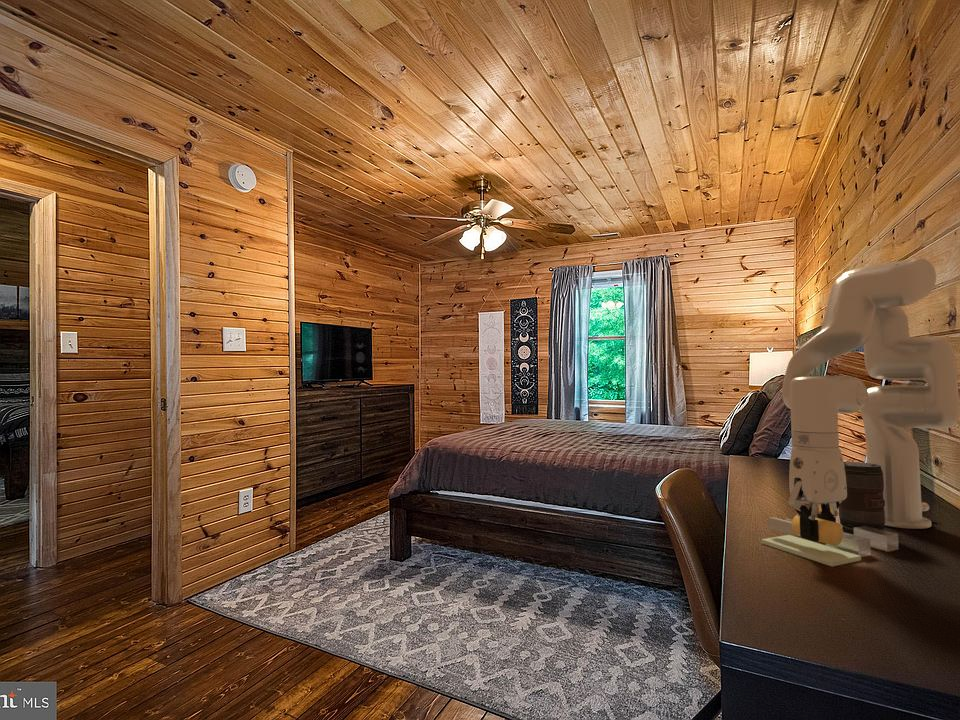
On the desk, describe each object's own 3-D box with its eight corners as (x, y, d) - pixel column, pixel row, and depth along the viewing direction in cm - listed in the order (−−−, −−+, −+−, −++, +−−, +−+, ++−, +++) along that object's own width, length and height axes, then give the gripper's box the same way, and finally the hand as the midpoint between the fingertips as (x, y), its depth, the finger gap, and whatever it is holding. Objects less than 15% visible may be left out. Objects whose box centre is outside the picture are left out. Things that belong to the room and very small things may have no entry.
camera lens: (879, 531, 109) (876, 462, 110) (891, 542, 102) (888, 467, 103) (835, 527, 113) (832, 460, 113) (843, 537, 105) (840, 465, 106)
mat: (789, 538, 105) (788, 534, 105) (861, 560, 92) (861, 555, 92) (761, 543, 102) (761, 539, 102) (832, 566, 89) (831, 561, 89)
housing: (795, 522, 117) (795, 509, 117) (898, 549, 97) (897, 533, 98) (758, 527, 112) (758, 514, 113) (858, 557, 93) (858, 541, 93)
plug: (778, 528, 105) (778, 507, 105) (843, 545, 92) (843, 522, 93) (763, 528, 103) (764, 507, 103) (827, 546, 91) (828, 522, 91)
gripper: (803, 445, 89) (807, 549, 88) (864, 440, 95) (868, 538, 95) (765, 441, 96) (768, 537, 95) (824, 437, 102) (827, 527, 101)
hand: (818, 537), depth 95 cm, fingers closed on plug, 4 cm apart
